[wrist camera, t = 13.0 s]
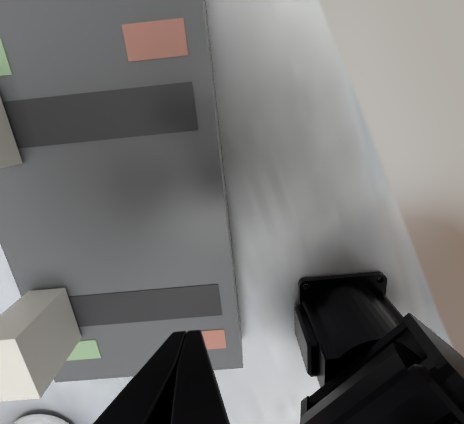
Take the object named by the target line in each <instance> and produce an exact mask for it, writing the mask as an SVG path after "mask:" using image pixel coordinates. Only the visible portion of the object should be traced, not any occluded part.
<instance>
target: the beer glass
mask: <svg viewBox="0 0 464 424" xmlns="http://www.w3.org/2000/svg"><path fill="white" fill-rule="evenodd" d="M13 424H69V423H68V422H66V421H65V420H63V419H61V418H59V417H56V416H52V415H47V414H31V415H27V416H24V417H21V418H19V419H18V420H16V421H15V422H14V423H13Z"/></svg>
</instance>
